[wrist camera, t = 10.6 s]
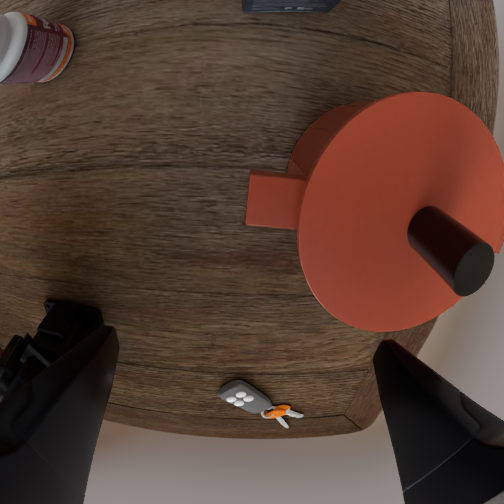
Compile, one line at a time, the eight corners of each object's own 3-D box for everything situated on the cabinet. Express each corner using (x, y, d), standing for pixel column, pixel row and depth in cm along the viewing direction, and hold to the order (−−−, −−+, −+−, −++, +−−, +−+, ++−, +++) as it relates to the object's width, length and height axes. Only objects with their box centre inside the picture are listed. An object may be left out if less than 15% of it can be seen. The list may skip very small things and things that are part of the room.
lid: (452, 317, 17) (487, 366, 12) (274, 318, 16) (285, 394, 11) (512, 136, 11) (574, 159, 6) (315, 58, 10) (362, 31, 5)
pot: (432, 265, 23) (477, 316, 16) (237, 250, 22) (236, 318, 15) (468, 136, 17) (534, 158, 11) (255, 79, 16) (263, 61, 9)
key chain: (214, 388, 29) (213, 399, 28) (239, 375, 28) (239, 386, 27) (286, 426, 34) (287, 435, 33) (309, 416, 33) (311, 425, 32)
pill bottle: (84, 24, 13) (11, -1, 6) (64, 84, 15) (-16, 87, 8) (39, 26, 12) (-34, 13, 5) (22, 81, 14) (-55, 89, 7)
